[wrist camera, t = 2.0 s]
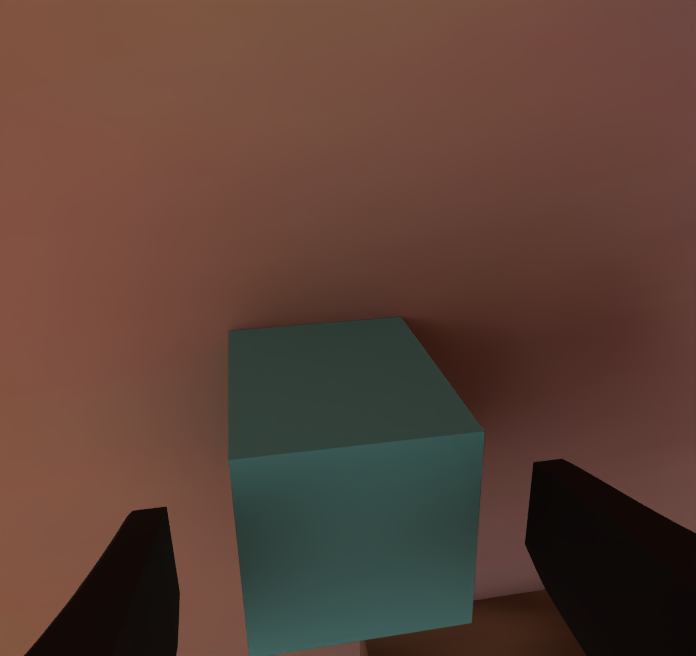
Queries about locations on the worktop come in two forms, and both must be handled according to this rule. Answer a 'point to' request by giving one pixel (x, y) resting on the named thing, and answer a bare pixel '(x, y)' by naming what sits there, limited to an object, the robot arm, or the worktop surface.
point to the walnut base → (490, 632)
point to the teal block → (349, 485)
